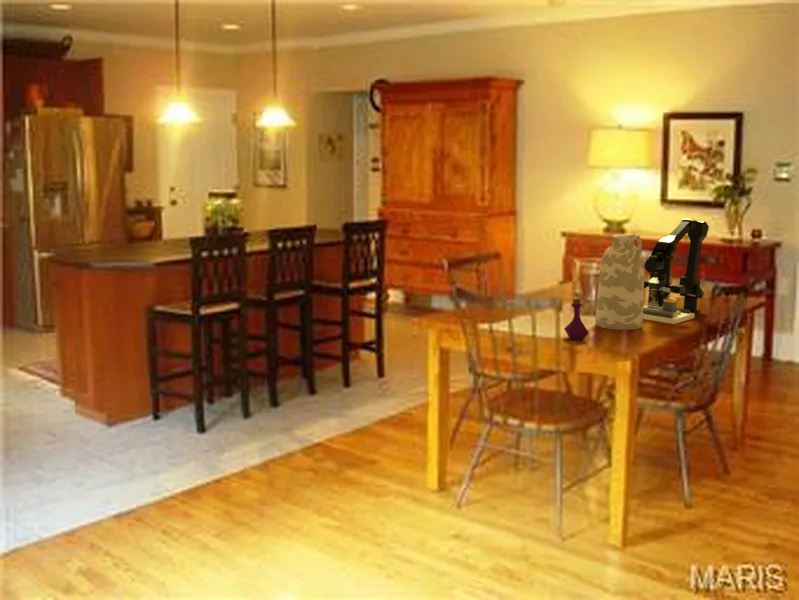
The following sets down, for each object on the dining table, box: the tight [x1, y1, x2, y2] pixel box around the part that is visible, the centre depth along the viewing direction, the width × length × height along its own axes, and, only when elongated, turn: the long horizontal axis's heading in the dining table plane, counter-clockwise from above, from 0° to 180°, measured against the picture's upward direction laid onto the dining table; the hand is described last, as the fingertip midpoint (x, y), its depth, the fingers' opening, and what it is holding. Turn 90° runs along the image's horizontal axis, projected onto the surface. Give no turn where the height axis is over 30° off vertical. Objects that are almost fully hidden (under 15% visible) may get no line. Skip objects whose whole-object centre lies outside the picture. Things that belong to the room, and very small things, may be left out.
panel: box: [643, 304, 696, 325], centre depth 390 cm, size 18×22×4 cm
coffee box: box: [647, 269, 673, 306], centre depth 417 cm, size 9×6×16 cm
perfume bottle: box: [563, 292, 589, 341], centre depth 345 cm, size 8×8×18 cm
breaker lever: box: [663, 297, 678, 312], centre depth 386 cm, size 4×4×6 cm
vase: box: [595, 233, 645, 331], centre depth 367 cm, size 20×19×38 cm
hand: (660, 306), depth 389 cm, fingers closed
